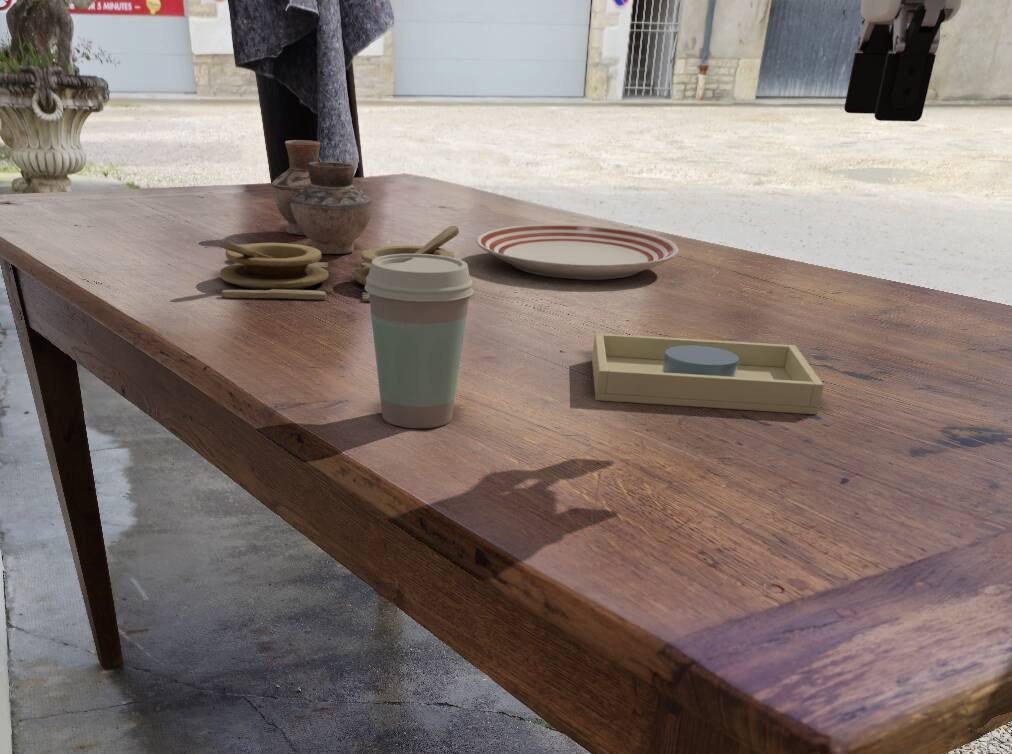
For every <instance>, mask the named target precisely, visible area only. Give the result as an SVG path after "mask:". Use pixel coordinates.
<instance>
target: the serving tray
mask: <svg viewBox="0 0 1012 754" xmlns="http://www.w3.org/2000/svg"><path fill="white" fill-rule="evenodd" d="M687 345H693V346H707V347H713V348H719V349H723V350H726V351H729V352H732V353H734V354H736V355H737V356H738V357H739V362H738V367H737V372H736V377H727V376H711V375H695V374H679V373H663V372H662V369H663V362H664V356H665V351H666V350H667V349H669V348H671V347H676V346H687ZM591 355H592V357H591V363H592V365H591V366H592V375H593V386H594V396H595V401H599V402H600V401H601V402H619V403H630V404H631V403H632V404H633V403H634V404H649V405H661V406H662V405H663V406H664V405H665V406H677V407H679V406H680V407H693V408H695V407H696V408H711V409H726V410H742V411H756V412H757V411H758V412H772V413H773V412H774V413H786V414H787V413H788V414H804V415H805V414H806V415H818V411H819V406H820V403H821V399H822V394H823V390H824V387H825V385H824V383H823V382H822V380H821V379H820V377H819V376H818V375H817V373H816V372H815V371H814V368H812V367H811V365H810V363H808V361H807V360H806V358H805V357H804V355H803V354H802V352H801V351H800V350H799V349H798V347H797V346H796V345H795V344H782V343H781V344H779V343H763V342H748V341H731V340H716V339H715V340H714V339H700V338H699V339H697V338H683V337H682V338H681V337H667V336H666V337H665V336H648V335H634V334H633V335H632V334H618V333H602V332H601V333H600V332H595V333H594V338H593V347H592V354H591Z"/></svg>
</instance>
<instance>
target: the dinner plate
mask: <svg viewBox="0 0 1012 754" xmlns="http://www.w3.org/2000/svg"><path fill="white" fill-rule="evenodd" d="M476 244H477V246H478V247H479V248H480V249H482V250H483V251H486V252H487V253H489V255H492V256H494V257H495V258H497V259H499V260H500V261H503V262H505V263H507V264H510V265H511V266H512V267H513V268H515V269H517V270H519V271H522V272H526V273H529V274H533V275H537V276H543V277H550V278H555V279H556V278H557V279H567V280H581V281H582V280H583V281H584V280H586V281H587V280H588V281H589V280H591V281H594V280H595V281H597V280H599V281H601V280H614V279H622V278H628V277H631V276H634V275H637V274H638V273H640V272H644V271H647V270H650V269H653V268H656V267H658V266H660V265H663V264H664V263H667V262H669V261H670V260H672V259H673V258H674V257H676V256H677V255H678V253H679V248H678V246H677V244H675V242H673V241H671V240H669V239H668V238H665V237H662V236H659V235H656V234H652V233H648V232H644V231H639V230H634V229H626V228H620V227H613V226H602V225H589V224H571V223H570V224H569V223H537V224H522V225H513V226H505V227H500V228H495V229H492V230H489V231H486V232H484V233H481V234H479V236H478V237H477V238H476Z"/></svg>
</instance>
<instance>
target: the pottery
mask: <svg viewBox="0 0 1012 754" xmlns="http://www.w3.org/2000/svg"><path fill="white" fill-rule="evenodd" d="M284 145H285V148H286V152H287V156H288V164H289V168H287V170H285V171H284V172H282V173H281V174H280V175H279V176H278V177H276V178H275V179H274V180H273V181H272V182H271V184H270V189H271V193H272V197H273V199H274V203H275V205H276V208H277V210H278V211H279V213H280V215H281V216H282V217H283V218H284V220H286V221H287V228H286V233H288V234H291V235H297V236H306V237H307V238H308V239H309V240H310V241H311V247H313V248H316V249H318V250H320V251H321V254H323V255H324V254H325V255H344V254H350V253H353V252H354V243H355V241H356V240H357V239H359V237H360V236H361V235H362V234H363V232H364V231H365V230H366V228H367V227H368V225H369V222H370V220H371V216H372V213H373V207H374V206H373V205H374V201H373V199H372V198H371V197H370V196H368V195H367V194H366V193H365V192H363V190H361V189H360V188H358V187H357V186H355V185H353V181H354V177H355V165H354V164H352V163H345V162H335V161H319V154H320V149H321V142H320V141H317V140H316V141H315V140H309V139H308V140H307V139H291V140H285V142H284Z"/></svg>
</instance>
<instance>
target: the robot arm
mask: <svg viewBox="0 0 1012 754" xmlns="http://www.w3.org/2000/svg"><path fill="white" fill-rule="evenodd" d="M962 1H963V0H861V1H860V15H861V17H862V19H863V20H862V21H861V25H862V27H861V30H860V32H859V35H858V37H857V41H856V42H857V43H856V48H855V49H856V52H854V56H853V61H852V64H851V65H852V66H851V71H850V77H849V81H848V86H847V91H846V97H845V102H844V107H843V109H844V112H845V113H847V114H871V115H874V118H875V120H877V121H881V122H918V121H919V120H920V119H921V118H922V117H923V113H924V108H925V104H926V101H927V100H926V99H927V96H928V91H929V86H930V82H931V79H932V74H933V69H934V64H935V62H936V56H937V55H936V53H937V52H938V49H939V46H940V40H941V25H942V24H943V23H947V22H949V21H950V20H952V19H953V18H954V17H955V16H956V15H957V14H959V11H960V10H961V6H962ZM908 24H909V25H908Z"/></svg>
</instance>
